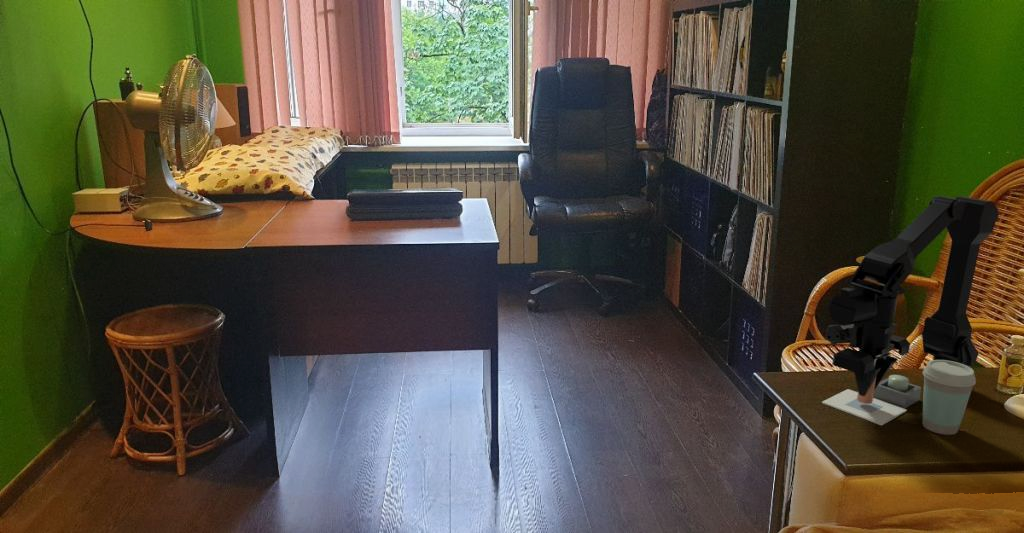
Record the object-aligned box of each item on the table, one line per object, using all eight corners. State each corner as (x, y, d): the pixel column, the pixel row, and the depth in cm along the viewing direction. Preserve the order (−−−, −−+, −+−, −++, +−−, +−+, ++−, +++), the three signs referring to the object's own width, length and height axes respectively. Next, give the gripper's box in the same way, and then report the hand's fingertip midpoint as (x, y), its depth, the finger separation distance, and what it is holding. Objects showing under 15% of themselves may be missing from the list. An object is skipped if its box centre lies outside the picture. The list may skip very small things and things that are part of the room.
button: (892, 384, 157) (894, 373, 156) (910, 390, 154) (912, 379, 153) (884, 388, 155) (885, 377, 154) (902, 394, 152) (904, 383, 151)
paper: (847, 390, 158) (847, 388, 158) (906, 411, 149) (907, 409, 149) (821, 403, 152) (822, 401, 152) (881, 425, 143) (882, 423, 143)
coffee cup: (973, 440, 138) (985, 378, 135) (921, 435, 140) (932, 374, 137) (956, 419, 146) (967, 360, 143) (908, 415, 148) (918, 356, 145)
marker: (861, 396, 153) (866, 363, 151) (875, 401, 150) (880, 367, 149) (853, 399, 151) (858, 366, 149) (868, 404, 149) (873, 371, 147)
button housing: (887, 389, 159) (889, 376, 158) (919, 400, 154) (921, 387, 154) (872, 397, 155) (874, 384, 155) (904, 408, 151) (906, 395, 150)
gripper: (860, 298, 158) (850, 369, 162) (811, 315, 146) (802, 391, 150) (916, 312, 149) (904, 386, 154) (868, 332, 138) (857, 411, 142)
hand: (866, 393), depth 150 cm, fingers closed on marker, 3 cm apart
